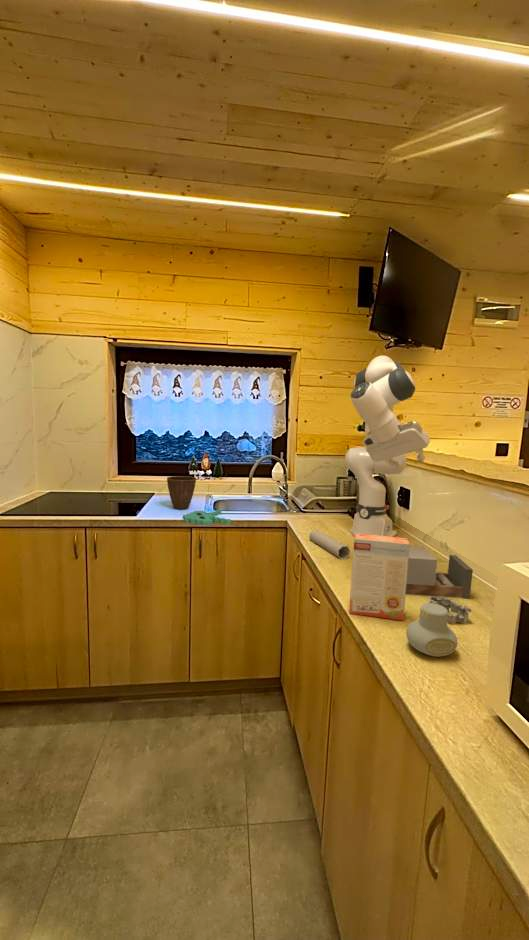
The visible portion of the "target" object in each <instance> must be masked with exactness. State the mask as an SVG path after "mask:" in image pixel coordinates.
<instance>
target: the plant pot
mask: <svg viewBox="0 0 529 940" xmlns="http://www.w3.org/2000/svg"><path fill="white" fill-rule="evenodd" d="M166 481H167V489H168V494H169V498H170V500H171V504H172V506H173V509H174V510H177V511H178V510H179V511H183V510H184V511H185V510H187V509H189V508H190V505H191V503H192V499H193V497H194V496H193V495H194V493H195V486H196V483H197V478H196V477H194V476H189V475H187V476H185V475H179V476H178V475H175V476H167V477H166Z"/></svg>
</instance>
